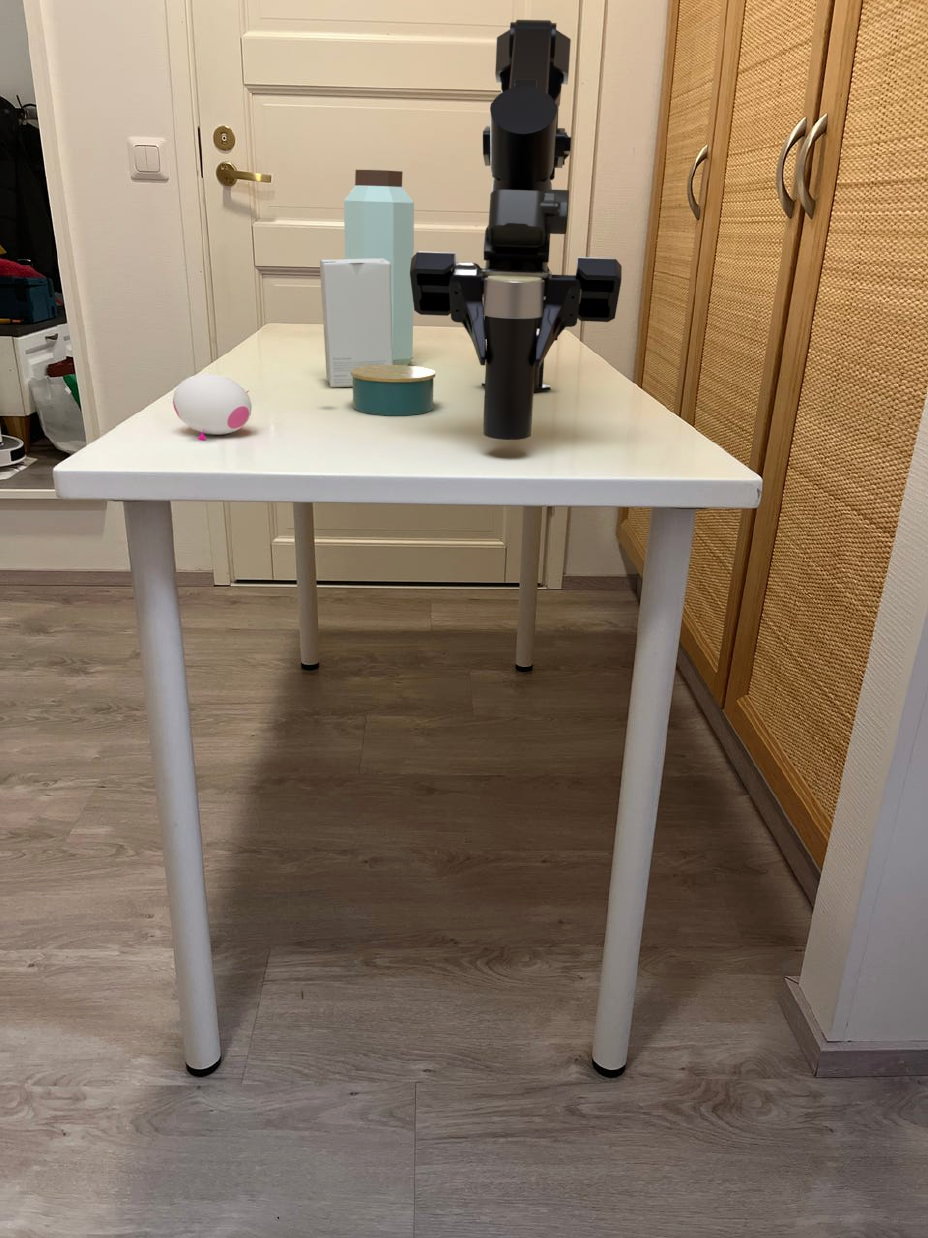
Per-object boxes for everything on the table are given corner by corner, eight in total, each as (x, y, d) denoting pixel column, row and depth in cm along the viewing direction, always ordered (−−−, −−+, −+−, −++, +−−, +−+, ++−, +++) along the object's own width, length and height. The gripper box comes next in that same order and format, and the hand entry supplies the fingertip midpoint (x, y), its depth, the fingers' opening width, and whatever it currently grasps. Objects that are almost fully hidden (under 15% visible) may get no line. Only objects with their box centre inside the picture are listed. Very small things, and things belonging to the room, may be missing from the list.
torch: (511, 426, 91) (519, 274, 85) (546, 437, 87) (557, 279, 81) (467, 431, 88) (472, 275, 82) (501, 443, 84) (509, 280, 78)
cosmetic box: (387, 379, 124) (386, 257, 118) (394, 387, 119) (394, 260, 113) (322, 380, 122) (319, 256, 116) (326, 388, 117) (323, 259, 111)
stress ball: (258, 465, 95) (272, 403, 96) (229, 433, 87) (244, 366, 88) (187, 456, 96) (202, 395, 97) (152, 424, 88) (168, 358, 89)
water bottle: (425, 361, 139) (428, 173, 129) (398, 371, 130) (399, 169, 120) (362, 356, 142) (360, 171, 132) (332, 365, 133) (328, 168, 123)
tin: (406, 396, 113) (406, 362, 112) (451, 411, 106) (452, 374, 105) (336, 403, 108) (335, 367, 106) (378, 419, 101) (378, 380, 99)
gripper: (413, 151, 82) (394, 297, 76) (630, 157, 81) (628, 306, 75) (422, 245, 92) (407, 380, 87) (615, 251, 91) (612, 388, 86)
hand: (509, 363), depth 83 cm, fingers closed on torch, 4 cm apart
